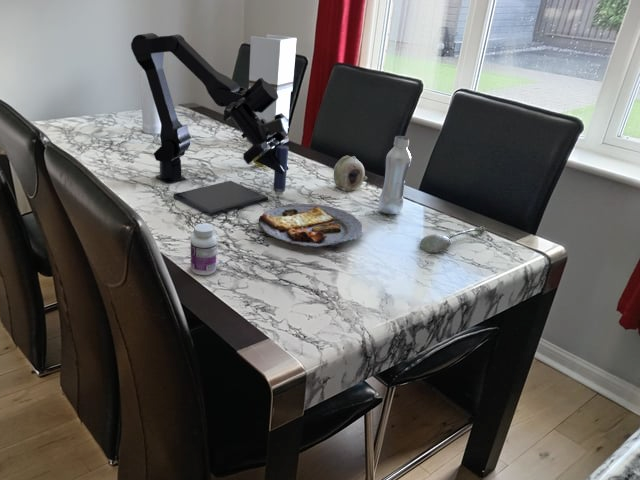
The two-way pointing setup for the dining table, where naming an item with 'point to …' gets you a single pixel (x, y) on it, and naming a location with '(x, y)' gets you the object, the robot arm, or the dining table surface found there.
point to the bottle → (149, 108)
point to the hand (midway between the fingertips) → (285, 171)
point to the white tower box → (274, 71)
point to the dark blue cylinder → (283, 158)
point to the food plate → (310, 224)
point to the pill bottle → (203, 250)
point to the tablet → (220, 197)
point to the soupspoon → (442, 240)
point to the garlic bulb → (349, 173)
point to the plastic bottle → (395, 176)
